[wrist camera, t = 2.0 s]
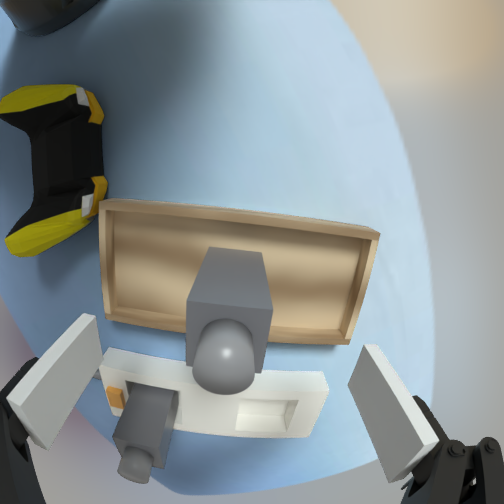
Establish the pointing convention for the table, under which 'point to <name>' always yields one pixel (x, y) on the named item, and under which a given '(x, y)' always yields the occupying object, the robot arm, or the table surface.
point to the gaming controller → (57, 163)
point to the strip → (220, 397)
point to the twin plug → (145, 431)
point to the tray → (241, 238)
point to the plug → (228, 320)
